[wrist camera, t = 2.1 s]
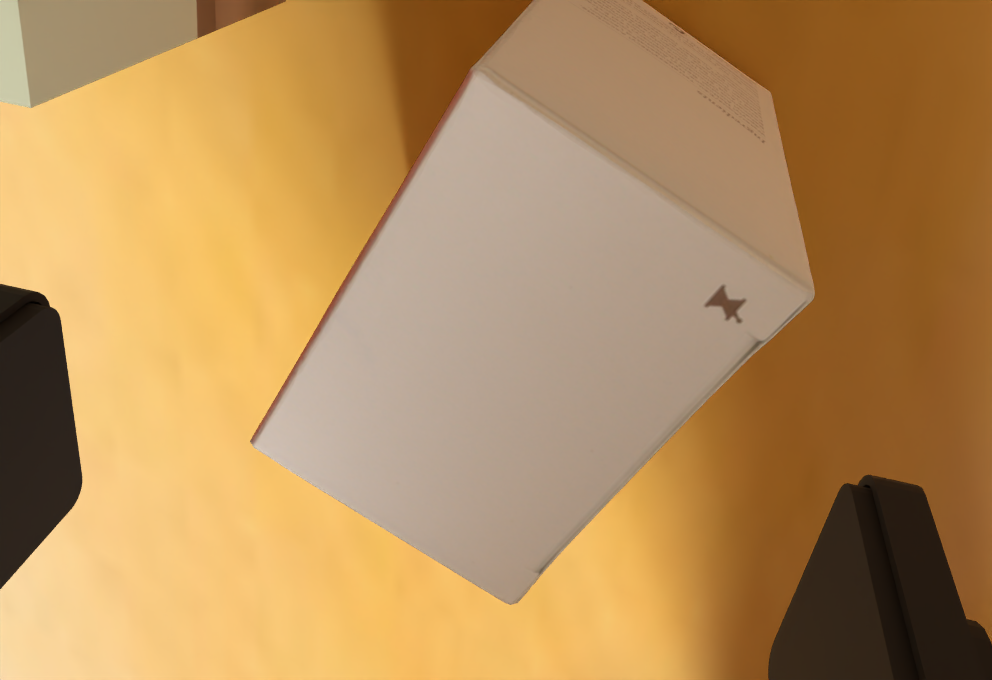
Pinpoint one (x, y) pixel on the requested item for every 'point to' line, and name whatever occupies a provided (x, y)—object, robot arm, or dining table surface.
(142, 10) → the upper crate
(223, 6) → the lower crate
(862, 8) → the dining table surface
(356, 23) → the dining table surface
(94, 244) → the dining table surface
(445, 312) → the small box
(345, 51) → the dining table surface
